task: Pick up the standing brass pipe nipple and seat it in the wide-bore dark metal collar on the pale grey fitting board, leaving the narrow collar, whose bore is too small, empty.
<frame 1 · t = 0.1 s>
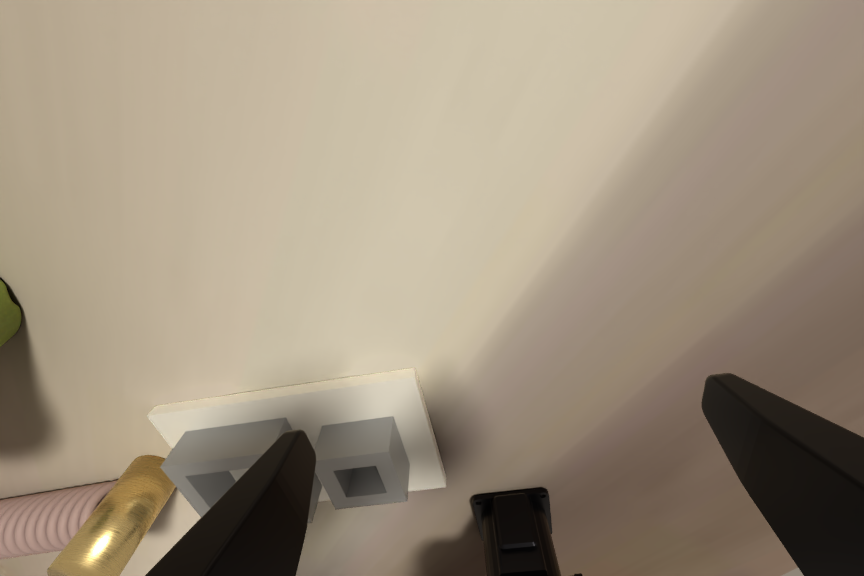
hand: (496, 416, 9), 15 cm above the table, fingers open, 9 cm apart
fitting board: (309, 442, 31), on the table
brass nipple: (156, 471, 33), on the table
coil: (53, 496, 35), on the table
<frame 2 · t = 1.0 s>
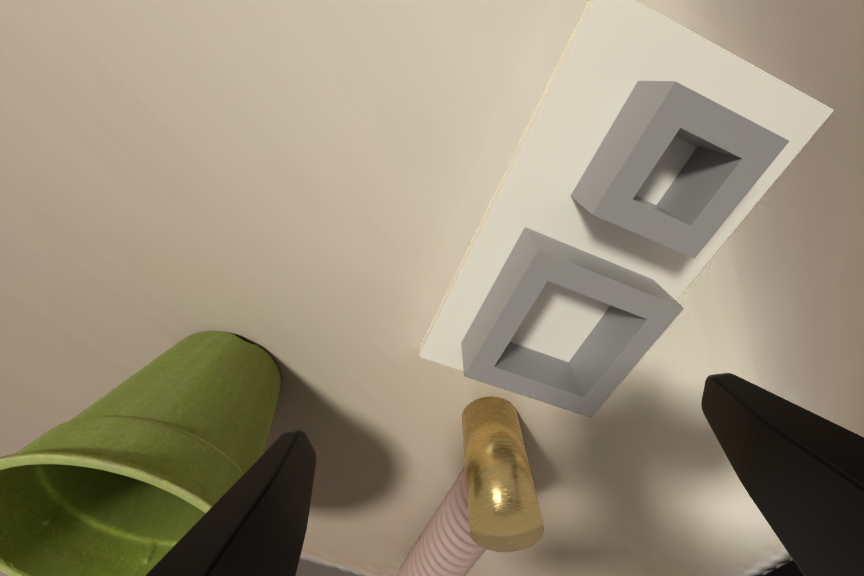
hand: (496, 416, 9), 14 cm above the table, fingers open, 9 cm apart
plant pot: (233, 370, 26), on the table
fitting board: (584, 246, 21), on the table
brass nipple: (489, 417, 28), on the table
coil: (451, 509, 34), on the table
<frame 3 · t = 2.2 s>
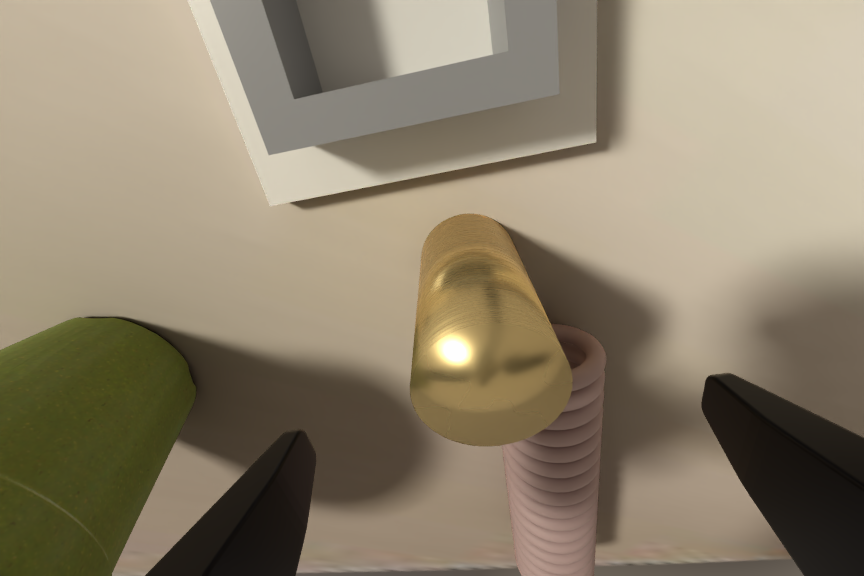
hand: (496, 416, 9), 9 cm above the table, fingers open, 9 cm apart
plant pot: (132, 368, 20), on the table
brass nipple: (467, 258, 17), on the table
coil: (539, 434, 22), on the table
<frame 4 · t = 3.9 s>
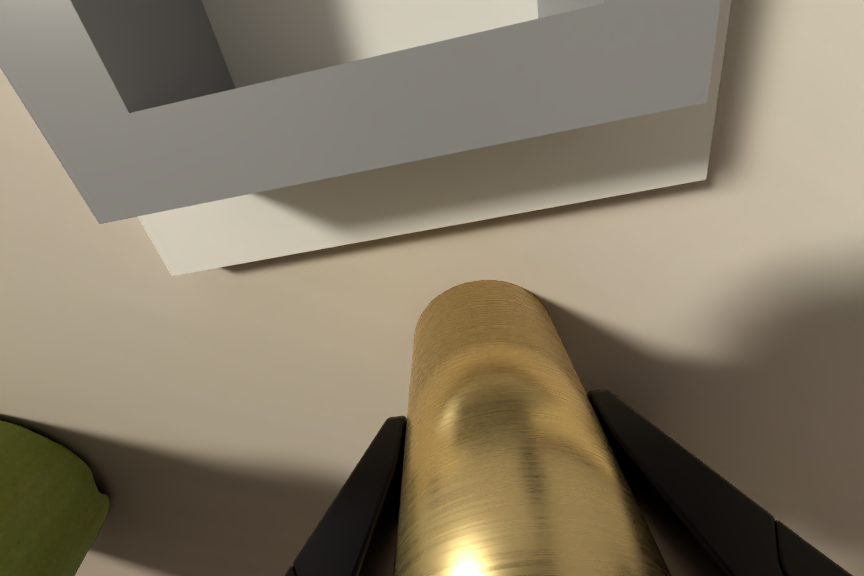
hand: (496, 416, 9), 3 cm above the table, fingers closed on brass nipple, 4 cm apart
plant pot: (20, 470, 15), on the table
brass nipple: (483, 341, 11), on the table, touching gripper
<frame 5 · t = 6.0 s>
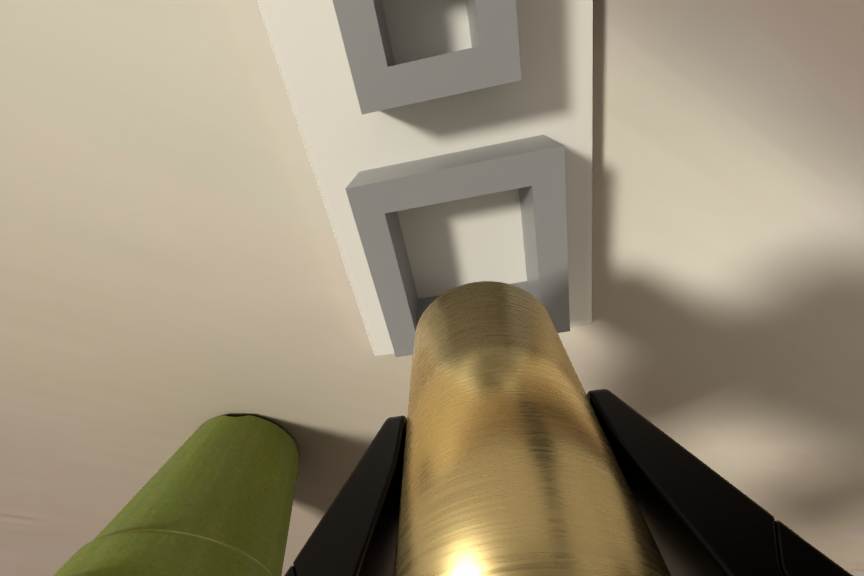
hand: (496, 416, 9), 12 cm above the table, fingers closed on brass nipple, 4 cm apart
plant pot: (252, 445, 27), on the table
fitting board: (448, 149, 17), on the table
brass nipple: (483, 342, 11), point 9 cm above the table, touching gripper
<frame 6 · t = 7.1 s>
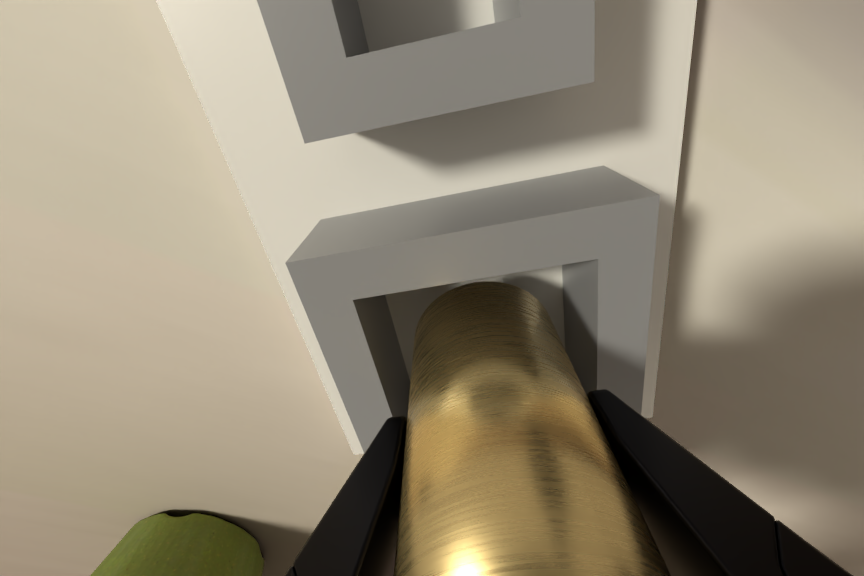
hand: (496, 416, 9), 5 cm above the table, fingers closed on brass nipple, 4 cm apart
plant pot: (205, 542, 22), on the table
fitting board: (455, 184, 12), on the table
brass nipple: (483, 342, 11), point 3 cm above the table, touching gripper
when the fingers open (5 cm above the table, at t = 7.8 s): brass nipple drops 1 cm, resting on fitting board.
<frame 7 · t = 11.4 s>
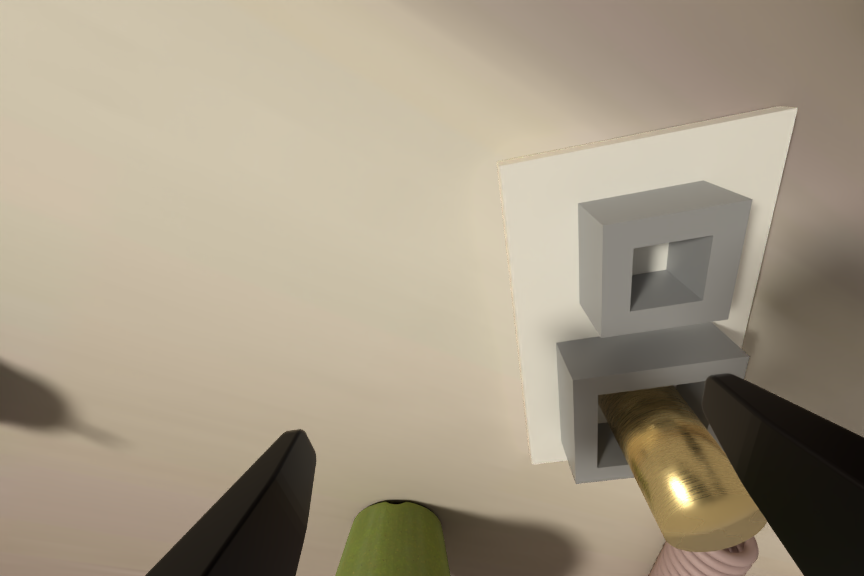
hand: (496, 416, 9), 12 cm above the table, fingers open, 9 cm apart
plant pot: (399, 522, 32), on the table
fitting board: (623, 321, 22), on the table
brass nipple: (628, 386, 23), point 1 cm above the table, touching fitting board
coil: (667, 553, 34), on the table
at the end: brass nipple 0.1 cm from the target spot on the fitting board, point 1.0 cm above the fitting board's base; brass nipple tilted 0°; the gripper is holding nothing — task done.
